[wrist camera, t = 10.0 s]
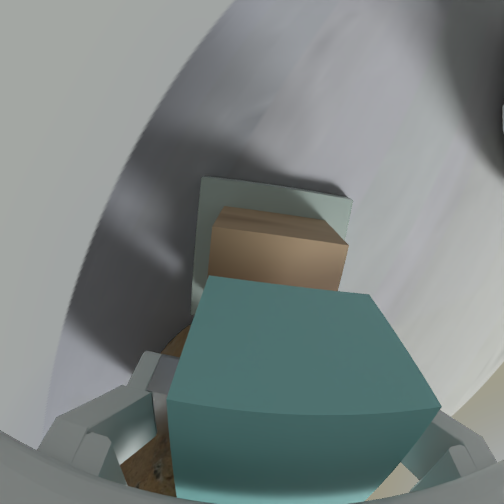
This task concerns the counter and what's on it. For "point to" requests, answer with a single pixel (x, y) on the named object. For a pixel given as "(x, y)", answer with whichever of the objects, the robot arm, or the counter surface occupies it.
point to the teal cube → (291, 397)
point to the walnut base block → (276, 249)
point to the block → (155, 449)
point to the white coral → (503, 117)
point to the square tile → (263, 199)
